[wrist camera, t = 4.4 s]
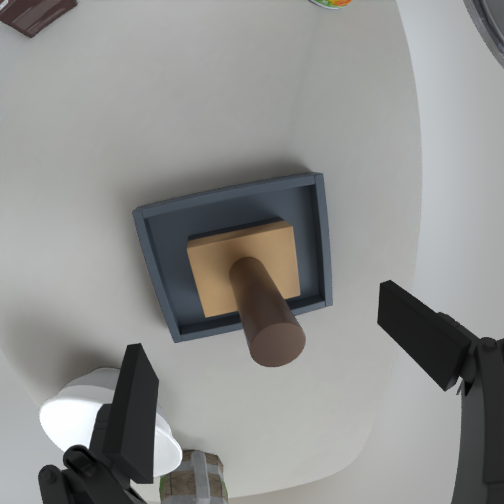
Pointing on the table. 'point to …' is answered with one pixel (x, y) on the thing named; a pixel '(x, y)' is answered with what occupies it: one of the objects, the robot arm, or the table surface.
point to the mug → (194, 481)
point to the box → (32, 13)
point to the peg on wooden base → (252, 284)
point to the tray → (227, 215)
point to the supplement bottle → (332, 3)
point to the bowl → (84, 414)
